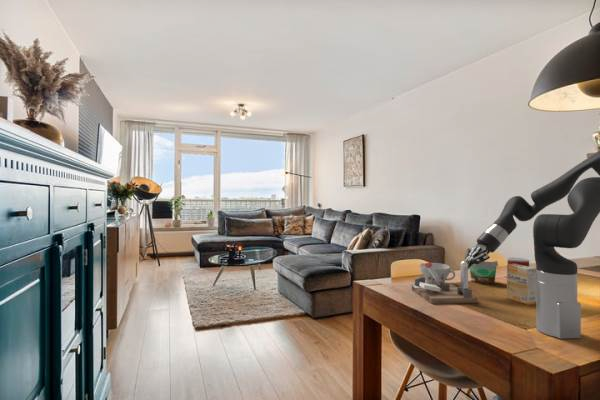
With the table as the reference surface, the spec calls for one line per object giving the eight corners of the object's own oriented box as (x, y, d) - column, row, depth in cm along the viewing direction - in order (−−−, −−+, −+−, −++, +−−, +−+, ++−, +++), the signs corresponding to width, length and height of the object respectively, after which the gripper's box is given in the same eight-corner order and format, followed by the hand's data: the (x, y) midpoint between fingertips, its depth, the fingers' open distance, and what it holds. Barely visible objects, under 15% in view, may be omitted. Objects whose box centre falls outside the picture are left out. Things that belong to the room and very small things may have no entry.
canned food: (532, 286, 143) (532, 260, 142) (511, 285, 144) (511, 260, 144) (524, 282, 150) (524, 257, 150) (504, 281, 152) (504, 257, 152)
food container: (471, 284, 147) (471, 261, 147) (467, 280, 153) (467, 259, 153) (502, 285, 144) (502, 262, 144) (497, 282, 150) (497, 260, 150)
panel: (477, 302, 121) (477, 290, 121) (430, 303, 120) (430, 291, 120) (451, 288, 140) (450, 277, 140) (410, 289, 140) (410, 278, 140)
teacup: (415, 283, 149) (414, 265, 149) (426, 278, 158) (425, 261, 158) (450, 289, 139) (449, 270, 139) (459, 283, 148) (459, 265, 148)
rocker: (440, 291, 126) (440, 288, 126) (423, 288, 126) (424, 284, 126) (434, 288, 131) (435, 285, 131) (419, 285, 130) (419, 282, 130)
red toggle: (448, 287, 131) (430, 261, 131) (443, 290, 131) (425, 264, 131) (444, 285, 134) (427, 259, 134) (439, 288, 134) (422, 263, 134)
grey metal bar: (470, 296, 122) (469, 261, 122) (463, 296, 122) (462, 262, 122) (465, 293, 125) (465, 260, 125) (458, 293, 125) (458, 260, 125)
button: (426, 286, 135) (426, 278, 135) (417, 286, 135) (417, 278, 135) (422, 283, 139) (422, 276, 139) (413, 283, 139) (413, 276, 139)
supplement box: (506, 298, 125) (505, 264, 125) (515, 297, 127) (514, 263, 127) (527, 305, 118) (527, 268, 118) (537, 303, 119) (537, 267, 119)
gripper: (510, 246, 127) (479, 279, 126) (488, 242, 140) (460, 272, 140) (496, 233, 127) (465, 266, 126) (476, 230, 140) (448, 259, 139)
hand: (462, 269), depth 133 cm, fingers closed
